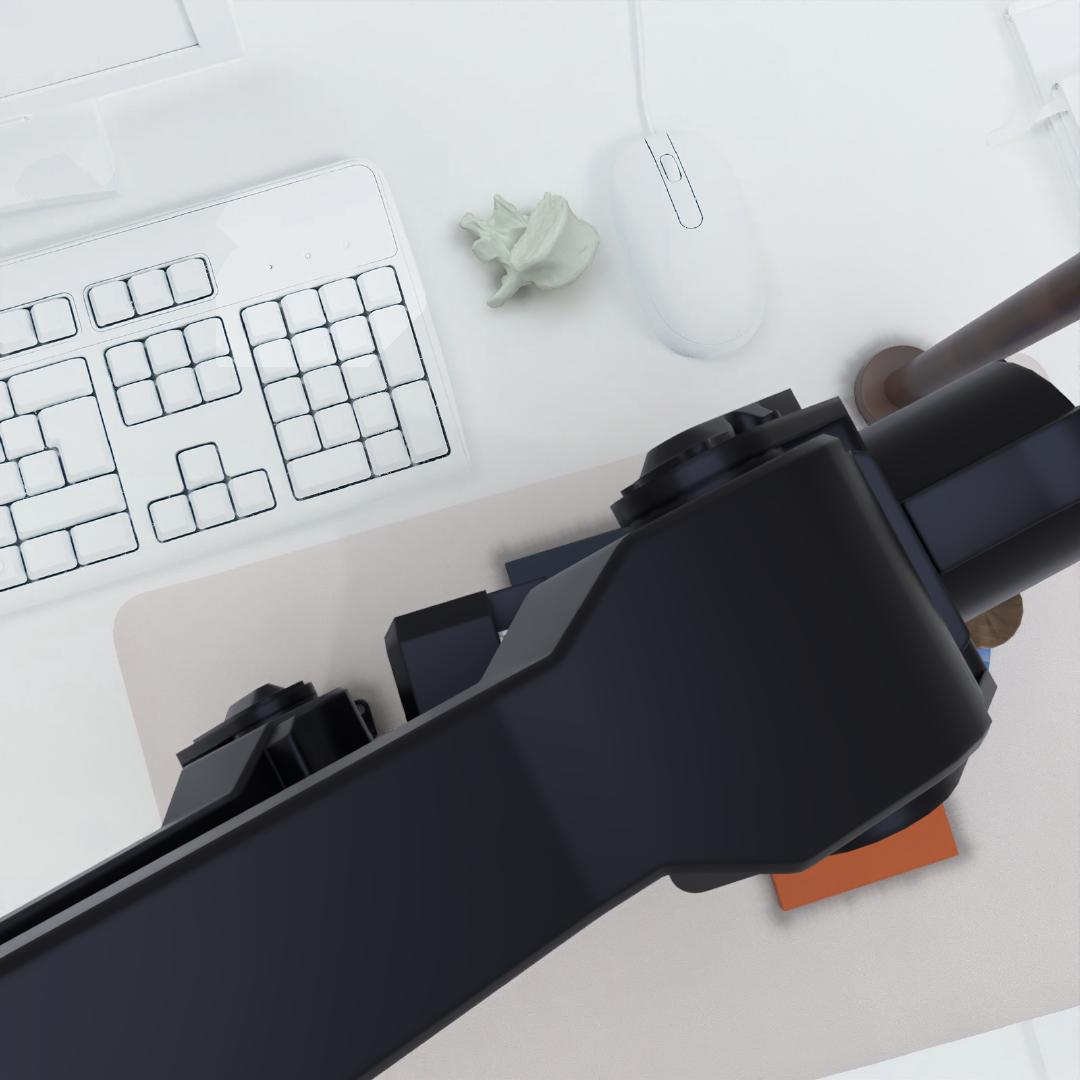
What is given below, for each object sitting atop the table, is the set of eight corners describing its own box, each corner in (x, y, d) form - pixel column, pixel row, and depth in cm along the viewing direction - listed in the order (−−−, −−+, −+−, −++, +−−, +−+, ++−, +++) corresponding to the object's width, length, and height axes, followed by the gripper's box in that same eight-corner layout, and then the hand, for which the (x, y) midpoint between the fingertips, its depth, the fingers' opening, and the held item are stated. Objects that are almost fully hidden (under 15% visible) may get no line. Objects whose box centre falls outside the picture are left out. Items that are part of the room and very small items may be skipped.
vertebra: (423, 273, 50) (472, 314, 53) (522, 287, 46) (570, 332, 48) (481, 159, 51) (526, 206, 54) (584, 162, 46) (627, 212, 49)
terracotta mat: (781, 909, 50) (784, 912, 49) (725, 730, 50) (727, 731, 50) (955, 852, 50) (959, 855, 50) (897, 675, 51) (901, 676, 50)
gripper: (461, 1005, 29) (478, 869, 44) (1082, 803, 30) (884, 739, 45) (350, 622, 29) (405, 621, 45) (959, 437, 30) (806, 499, 46)
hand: (628, 626), depth 45 cm, fingers closed on beer can, 5 cm apart
